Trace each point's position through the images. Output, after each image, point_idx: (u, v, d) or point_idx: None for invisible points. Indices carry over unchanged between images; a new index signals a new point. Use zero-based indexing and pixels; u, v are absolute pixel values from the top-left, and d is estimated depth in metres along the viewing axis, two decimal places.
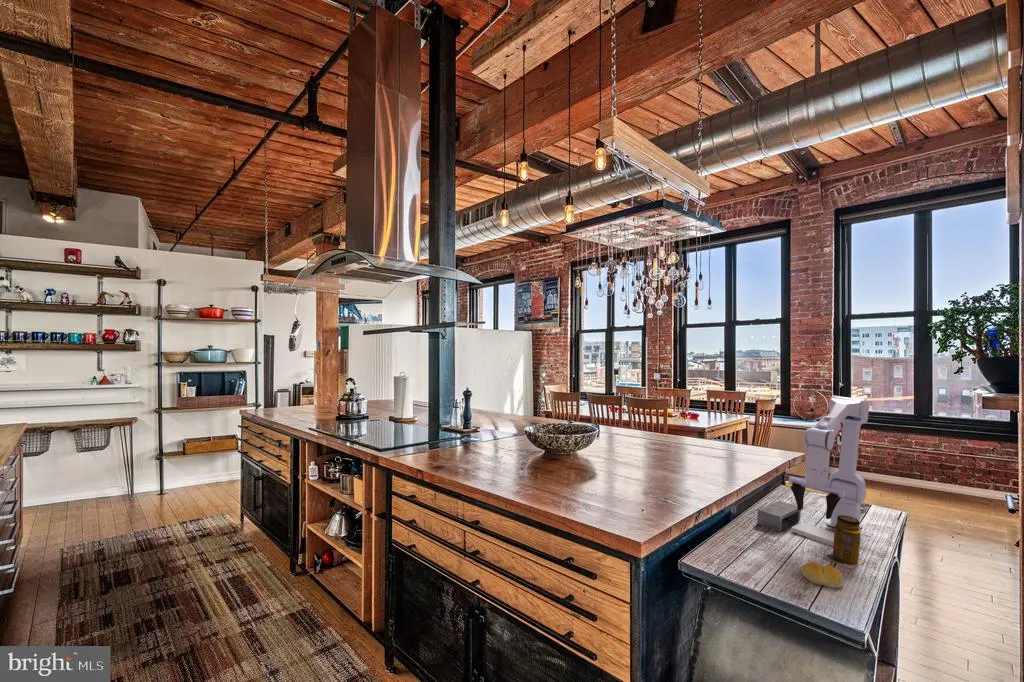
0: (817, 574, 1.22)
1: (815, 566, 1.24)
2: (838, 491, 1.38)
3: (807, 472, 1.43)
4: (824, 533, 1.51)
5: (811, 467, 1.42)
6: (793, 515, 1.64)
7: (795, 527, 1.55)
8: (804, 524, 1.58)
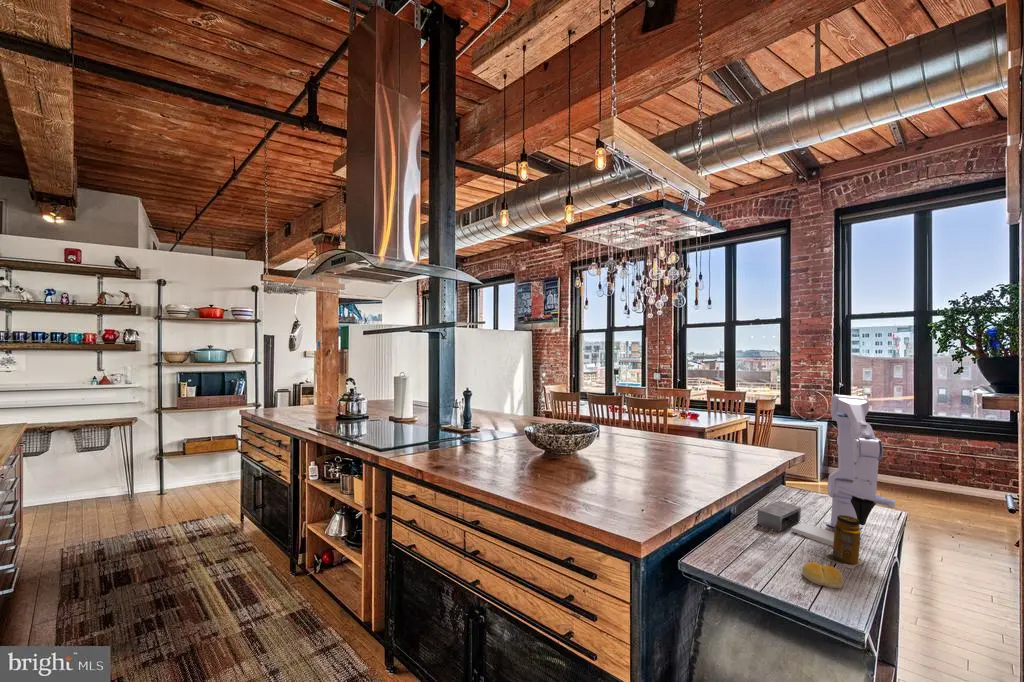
0: (817, 574, 1.22)
1: (816, 566, 1.24)
2: (888, 501, 1.37)
3: (854, 482, 1.43)
4: (824, 533, 1.51)
5: (865, 478, 1.40)
6: (793, 515, 1.64)
7: (795, 527, 1.54)
8: (804, 524, 1.58)
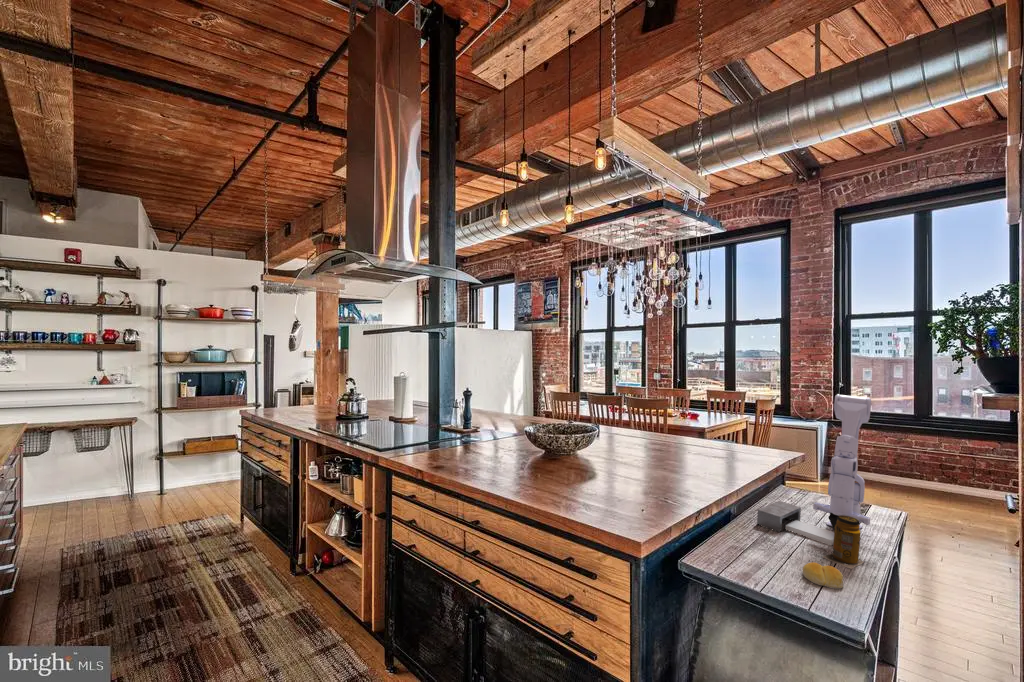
0: (818, 574, 1.22)
1: (816, 566, 1.24)
2: (863, 519, 1.42)
3: (832, 500, 1.47)
4: (818, 531, 1.52)
5: (838, 495, 1.45)
6: (793, 515, 1.64)
7: (789, 525, 1.56)
8: (798, 522, 1.59)
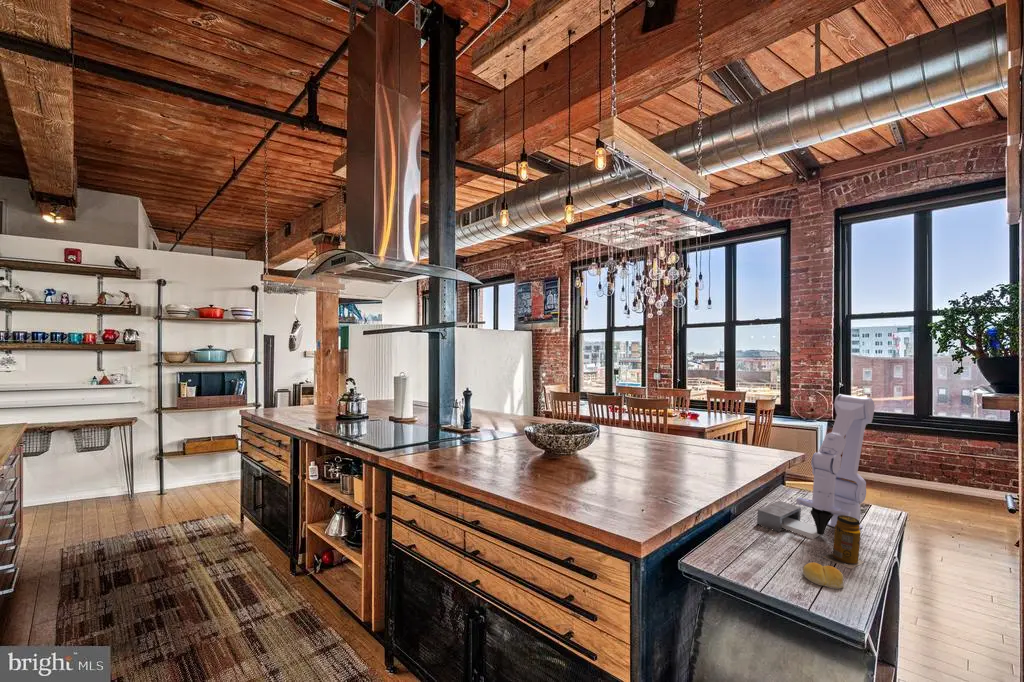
0: (818, 574, 1.22)
1: (816, 566, 1.24)
2: (844, 513, 1.46)
3: (814, 494, 1.51)
4: (801, 525, 1.56)
5: (817, 489, 1.50)
6: (793, 515, 1.64)
7: None
8: None
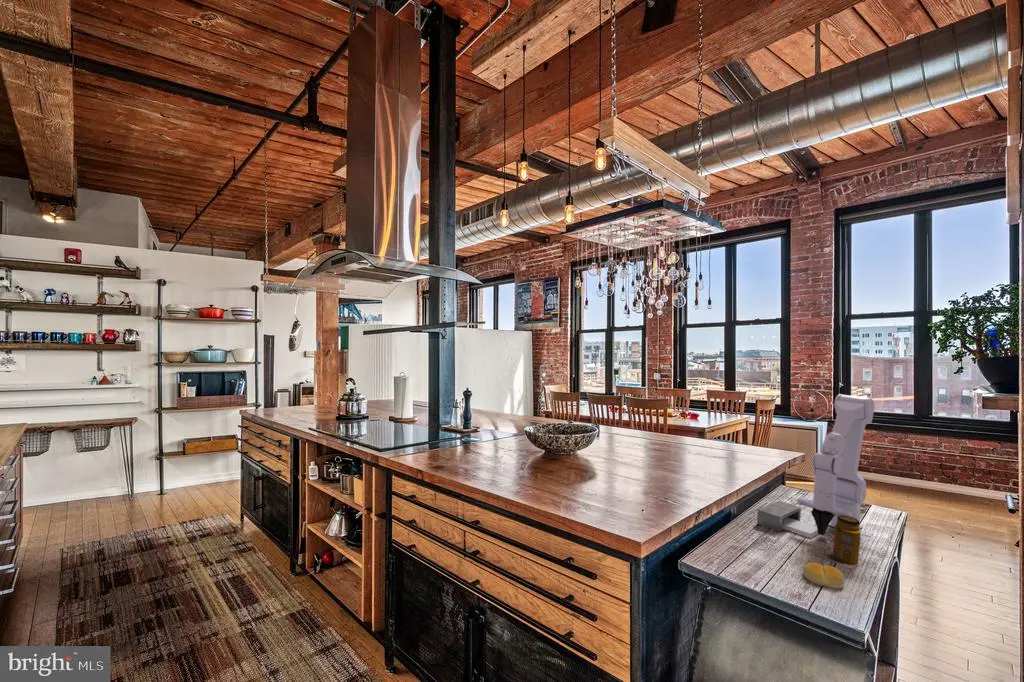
0: (818, 575, 1.22)
1: (816, 566, 1.24)
2: (845, 513, 1.45)
3: (815, 495, 1.51)
4: (799, 524, 1.57)
5: (818, 490, 1.50)
6: (793, 515, 1.64)
7: None
8: None
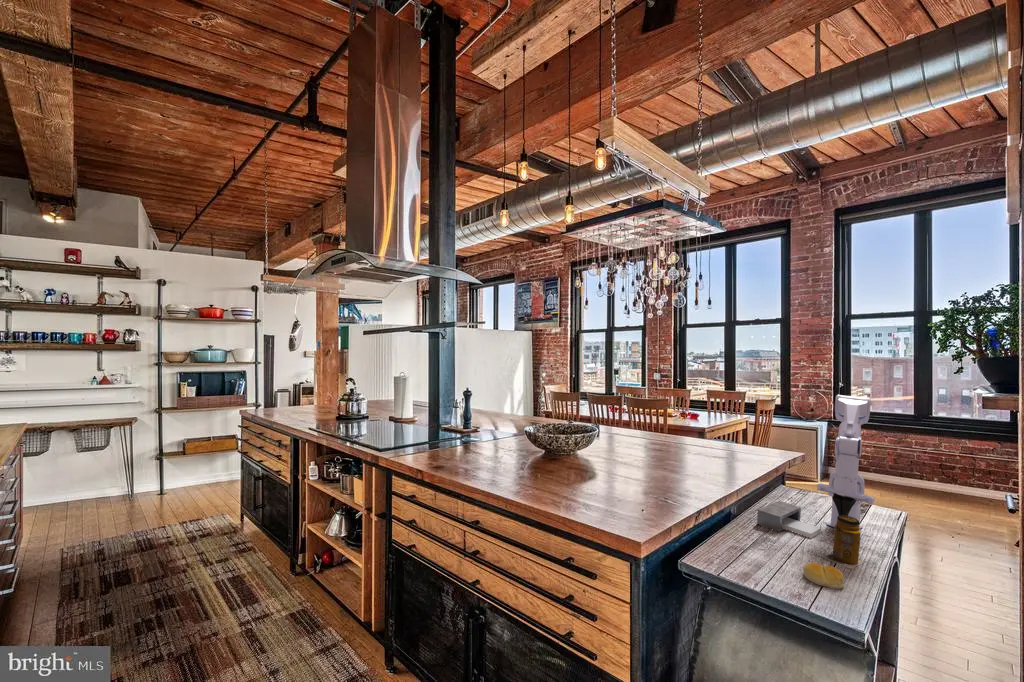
0: (818, 575, 1.22)
1: (817, 566, 1.24)
2: (868, 498, 1.41)
3: (836, 480, 1.47)
4: (799, 524, 1.57)
5: (843, 475, 1.44)
6: (793, 515, 1.64)
7: None
8: None
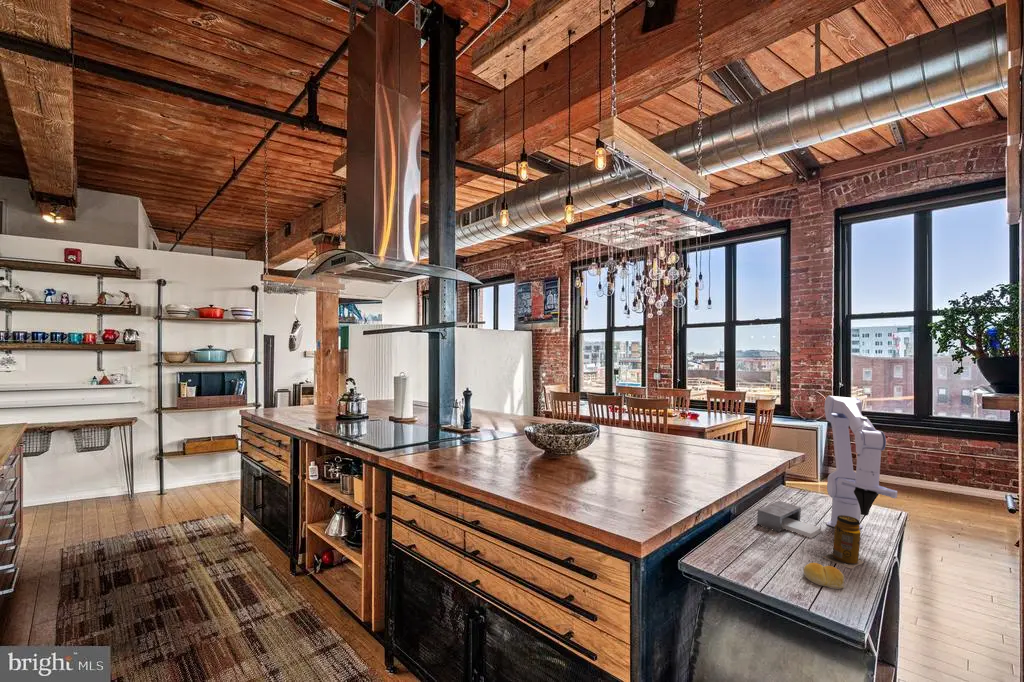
0: (819, 575, 1.22)
1: (817, 566, 1.24)
2: (890, 492, 1.40)
3: (858, 474, 1.46)
4: (799, 524, 1.57)
5: (869, 470, 1.43)
6: (793, 515, 1.64)
7: None
8: None
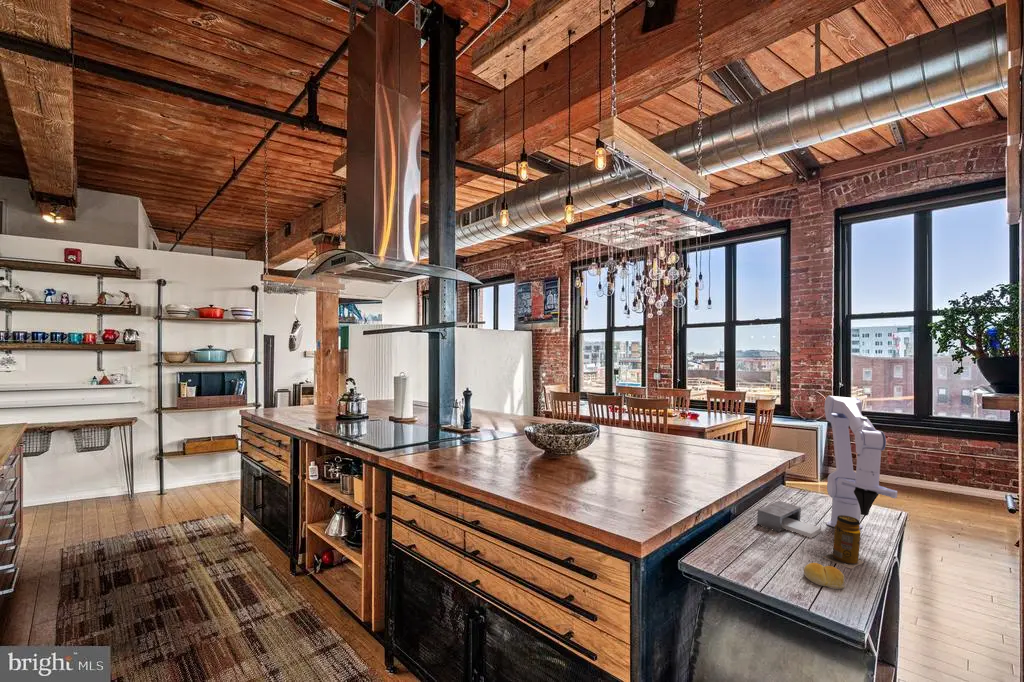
0: (819, 575, 1.22)
1: (817, 566, 1.24)
2: (890, 492, 1.40)
3: (858, 474, 1.46)
4: (799, 524, 1.57)
5: (869, 470, 1.43)
6: (793, 515, 1.64)
7: None
8: None
